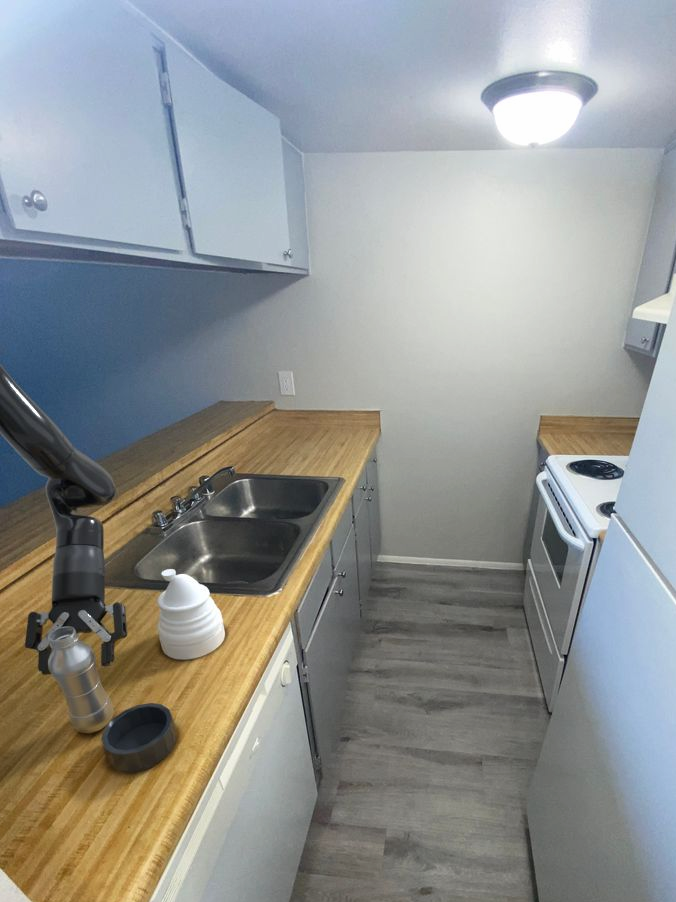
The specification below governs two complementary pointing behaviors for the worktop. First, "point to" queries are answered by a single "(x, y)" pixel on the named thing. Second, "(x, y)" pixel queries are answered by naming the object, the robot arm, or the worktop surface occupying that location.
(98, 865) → the worktop surface
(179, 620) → the honey pot
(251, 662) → the worktop surface
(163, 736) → the socket
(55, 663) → the silver bottle
